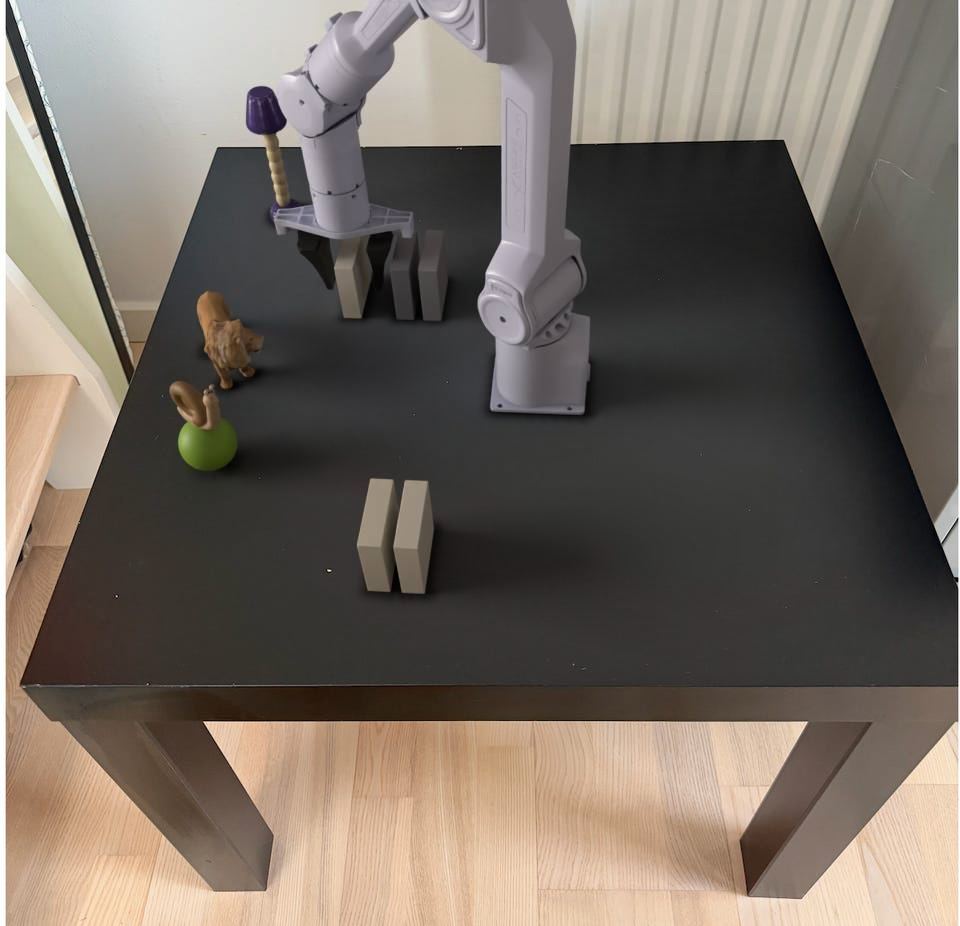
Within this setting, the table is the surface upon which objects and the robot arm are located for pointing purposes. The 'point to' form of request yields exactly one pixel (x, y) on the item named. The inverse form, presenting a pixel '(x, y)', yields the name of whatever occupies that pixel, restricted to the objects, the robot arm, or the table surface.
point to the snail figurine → (203, 428)
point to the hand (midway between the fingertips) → (355, 284)
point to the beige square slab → (353, 276)
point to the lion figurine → (226, 338)
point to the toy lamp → (270, 140)
